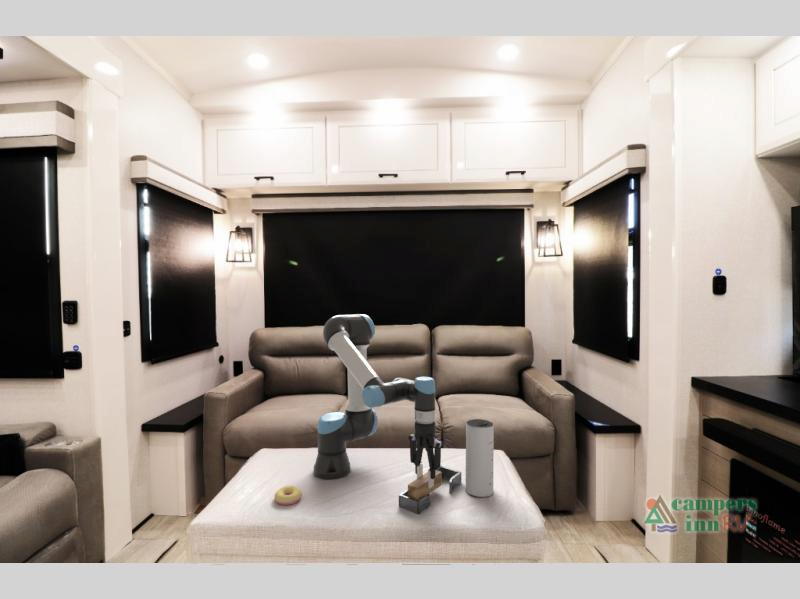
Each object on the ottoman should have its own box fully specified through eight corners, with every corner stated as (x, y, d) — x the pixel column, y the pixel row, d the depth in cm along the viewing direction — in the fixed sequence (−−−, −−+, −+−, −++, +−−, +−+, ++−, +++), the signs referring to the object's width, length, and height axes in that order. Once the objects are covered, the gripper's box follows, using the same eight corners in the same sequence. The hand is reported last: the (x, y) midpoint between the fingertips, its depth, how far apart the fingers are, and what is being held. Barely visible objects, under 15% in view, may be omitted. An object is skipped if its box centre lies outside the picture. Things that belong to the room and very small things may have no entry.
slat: (407, 498, 142) (407, 484, 142) (432, 482, 155) (432, 469, 155) (417, 502, 140) (417, 487, 140) (441, 485, 152) (441, 471, 152)
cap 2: (424, 484, 158) (424, 473, 158) (438, 474, 166) (438, 465, 166) (451, 493, 151) (451, 482, 151) (463, 482, 159) (463, 472, 159)
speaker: (476, 481, 161) (476, 415, 160) (499, 490, 153) (499, 421, 152) (459, 490, 153) (460, 421, 152) (483, 501, 146) (483, 428, 145)
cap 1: (398, 506, 142) (398, 494, 142) (410, 498, 148) (410, 487, 148) (419, 514, 137) (419, 502, 137) (430, 505, 143) (430, 494, 142)
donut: (297, 497, 153) (272, 498, 149) (299, 484, 154) (273, 485, 150) (303, 505, 144) (276, 507, 140) (304, 491, 145) (277, 493, 141)
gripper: (399, 419, 149) (400, 482, 149) (439, 428, 139) (440, 496, 139) (411, 414, 155) (412, 474, 155) (450, 422, 145) (451, 487, 145)
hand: (425, 484), depth 147 cm, fingers closed on slat, 4 cm apart
